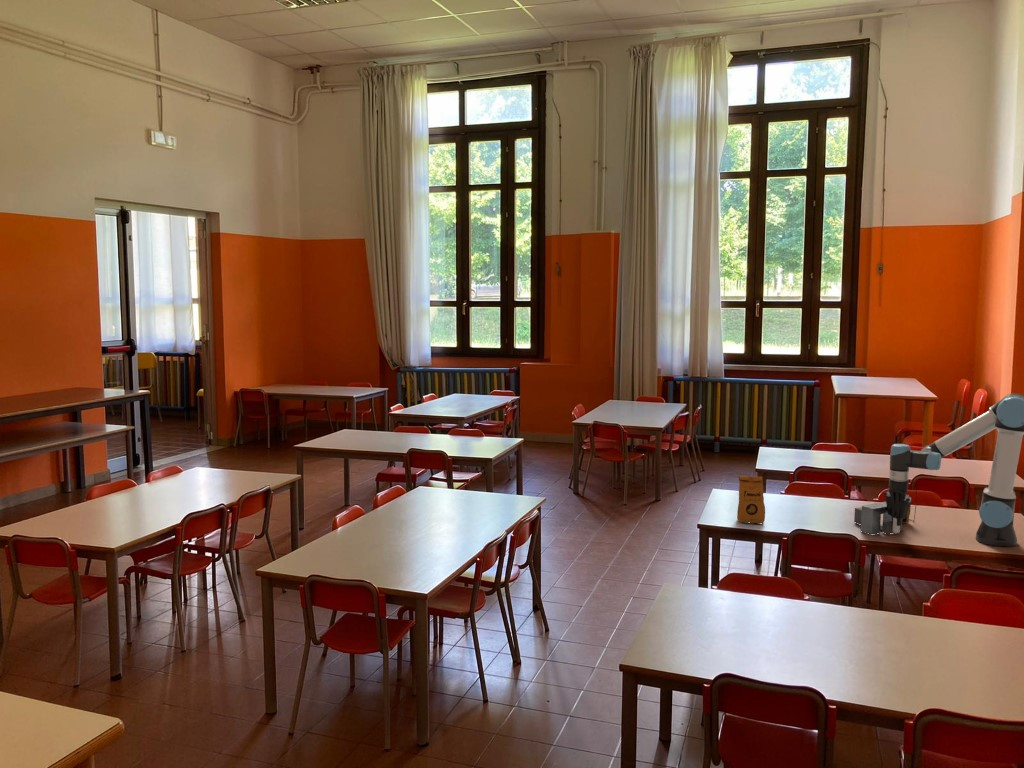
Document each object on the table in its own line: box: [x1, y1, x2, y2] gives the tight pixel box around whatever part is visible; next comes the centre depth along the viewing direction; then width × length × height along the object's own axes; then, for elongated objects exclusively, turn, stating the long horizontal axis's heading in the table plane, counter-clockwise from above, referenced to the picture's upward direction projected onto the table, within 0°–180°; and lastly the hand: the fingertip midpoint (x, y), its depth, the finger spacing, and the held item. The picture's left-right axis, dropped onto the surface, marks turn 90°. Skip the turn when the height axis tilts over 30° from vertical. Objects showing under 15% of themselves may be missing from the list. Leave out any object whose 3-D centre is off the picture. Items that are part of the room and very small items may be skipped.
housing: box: [860, 501, 903, 535], centre depth 357 cm, size 6×19×12 cm, turn 116°
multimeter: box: [902, 480, 918, 524], centre depth 372 cm, size 15×10×20 cm
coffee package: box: [736, 475, 766, 524], centre depth 371 cm, size 10×12×22 cm
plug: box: [853, 506, 893, 535], centre depth 362 cm, size 20×7×7 cm, turn 17°
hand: (896, 532), depth 351 cm, fingers closed
